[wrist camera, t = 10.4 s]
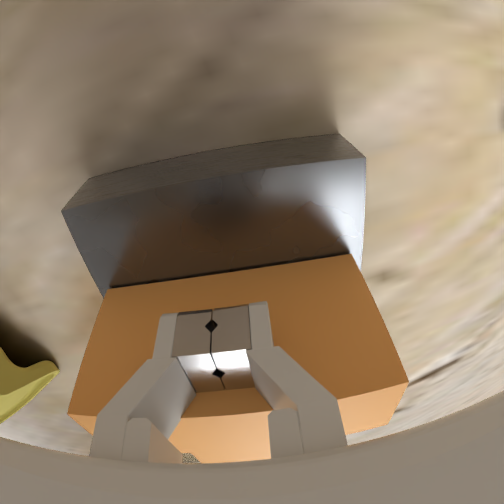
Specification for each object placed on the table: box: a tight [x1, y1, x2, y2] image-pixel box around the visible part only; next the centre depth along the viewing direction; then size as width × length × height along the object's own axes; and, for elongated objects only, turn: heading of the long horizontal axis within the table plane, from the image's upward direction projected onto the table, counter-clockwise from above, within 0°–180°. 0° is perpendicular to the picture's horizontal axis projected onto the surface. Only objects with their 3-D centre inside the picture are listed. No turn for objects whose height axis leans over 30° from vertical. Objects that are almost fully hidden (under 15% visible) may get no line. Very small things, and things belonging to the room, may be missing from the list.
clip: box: [67, 254, 409, 463], centre depth 12 cm, size 6×10×6 cm, turn 98°
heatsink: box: [61, 134, 366, 298], centre depth 17 cm, size 24×11×8 cm, turn 8°
